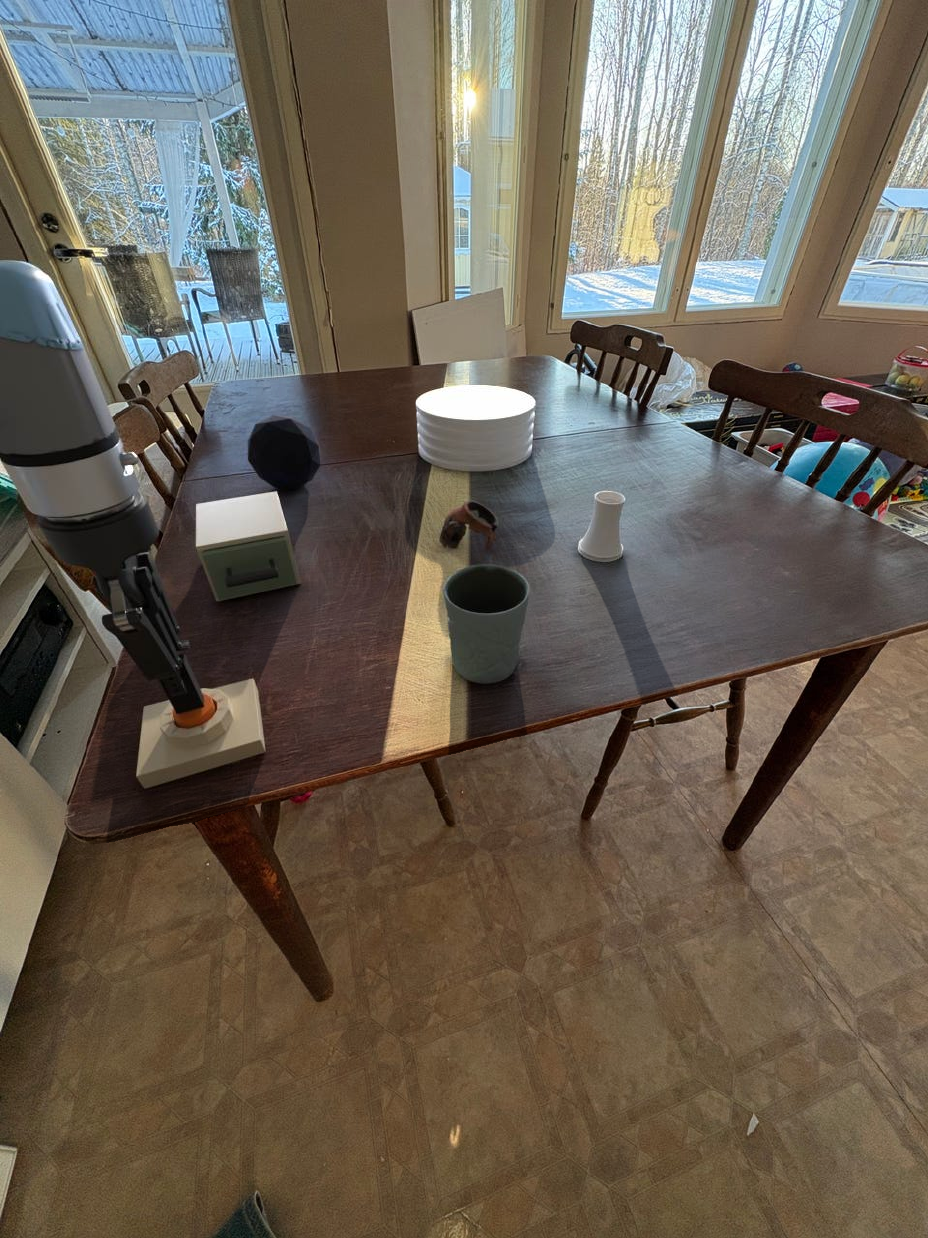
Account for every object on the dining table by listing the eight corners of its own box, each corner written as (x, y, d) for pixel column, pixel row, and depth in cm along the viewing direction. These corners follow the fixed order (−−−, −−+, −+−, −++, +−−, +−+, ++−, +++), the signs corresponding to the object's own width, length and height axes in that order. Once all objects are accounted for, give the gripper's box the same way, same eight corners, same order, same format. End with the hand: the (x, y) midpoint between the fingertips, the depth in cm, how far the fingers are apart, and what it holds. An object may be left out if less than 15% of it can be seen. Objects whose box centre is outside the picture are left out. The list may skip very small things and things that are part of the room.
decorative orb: (239, 452, 111) (232, 405, 98) (306, 439, 117) (308, 394, 104) (261, 508, 109) (257, 469, 96) (329, 492, 115) (334, 453, 102)
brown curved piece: (450, 527, 97) (473, 492, 92) (487, 559, 95) (512, 526, 91) (416, 540, 87) (440, 501, 82) (457, 576, 85) (483, 539, 81)
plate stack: (434, 427, 140) (432, 382, 133) (536, 433, 135) (540, 387, 128) (404, 466, 118) (400, 415, 111) (525, 475, 114) (529, 423, 107)
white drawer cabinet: (300, 583, 81) (287, 530, 75) (216, 601, 78) (195, 546, 72) (289, 540, 92) (276, 490, 86) (214, 555, 88) (195, 503, 82)
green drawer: (300, 598, 77) (289, 554, 72) (220, 616, 73) (202, 571, 68) (286, 543, 90) (275, 502, 85) (216, 556, 86) (201, 514, 81)
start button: (177, 736, 54) (171, 726, 53) (178, 710, 57) (172, 699, 56) (217, 725, 55) (212, 714, 54) (216, 699, 58) (211, 689, 57)
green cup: (514, 634, 71) (520, 561, 64) (530, 686, 64) (539, 610, 56) (442, 639, 70) (439, 566, 63) (449, 693, 63) (447, 617, 55)
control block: (144, 789, 52) (128, 765, 50) (151, 719, 60) (137, 695, 57) (265, 752, 56) (256, 728, 53) (258, 690, 63) (249, 667, 61)
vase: (607, 537, 93) (617, 484, 86) (630, 557, 87) (643, 503, 81) (570, 543, 91) (577, 491, 84) (591, 565, 85) (601, 510, 79)
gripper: (136, 530, 36) (230, 740, 51) (149, 464, 46) (225, 658, 60) (10, 550, 34) (147, 764, 49) (51, 477, 44) (155, 675, 58)
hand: (190, 705), depth 55 cm, fingers closed
